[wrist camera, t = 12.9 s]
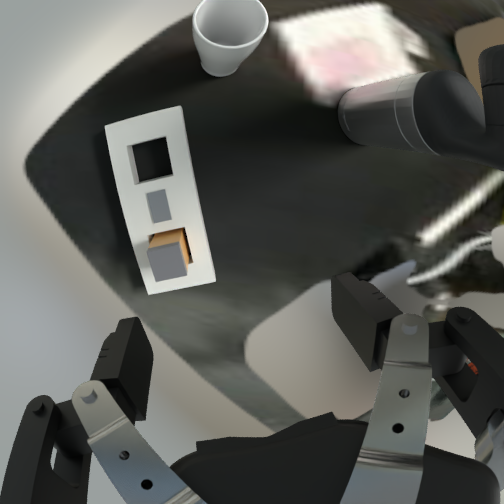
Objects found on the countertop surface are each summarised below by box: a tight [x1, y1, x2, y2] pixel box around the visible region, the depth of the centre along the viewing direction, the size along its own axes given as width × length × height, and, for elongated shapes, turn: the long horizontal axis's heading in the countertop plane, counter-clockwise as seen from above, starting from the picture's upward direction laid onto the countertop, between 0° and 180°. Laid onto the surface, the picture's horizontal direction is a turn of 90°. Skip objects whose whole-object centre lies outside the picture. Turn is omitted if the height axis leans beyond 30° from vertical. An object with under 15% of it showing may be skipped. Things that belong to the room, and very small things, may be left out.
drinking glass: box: [192, 0, 268, 77], centre depth 26 cm, size 7×7×15 cm
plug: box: [146, 227, 189, 282], centre depth 37 cm, size 4×4×8 cm
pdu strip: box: [105, 106, 216, 295], centre depth 37 cm, size 10×24×3 cm, turn 9°
